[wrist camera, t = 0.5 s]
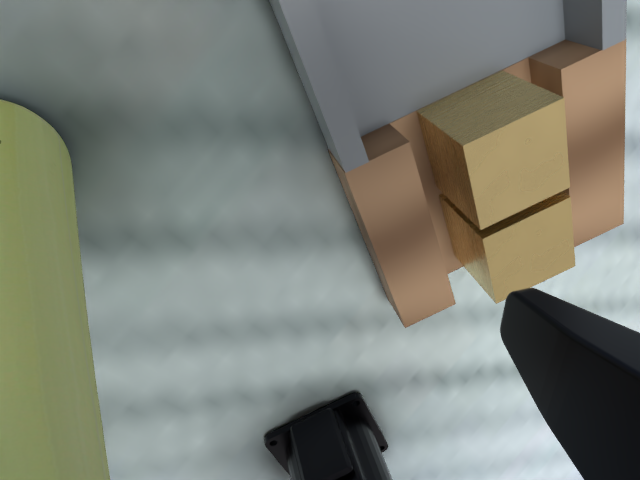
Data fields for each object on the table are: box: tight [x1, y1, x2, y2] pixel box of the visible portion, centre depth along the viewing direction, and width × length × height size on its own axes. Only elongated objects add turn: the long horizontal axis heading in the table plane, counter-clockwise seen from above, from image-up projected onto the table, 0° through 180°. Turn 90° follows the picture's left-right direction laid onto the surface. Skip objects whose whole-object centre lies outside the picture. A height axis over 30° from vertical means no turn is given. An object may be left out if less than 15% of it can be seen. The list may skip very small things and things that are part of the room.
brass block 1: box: [417, 70, 570, 230], centre depth 20 cm, size 4×4×4 cm
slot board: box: [328, 40, 626, 328], centre depth 23 cm, size 10×12×2 cm
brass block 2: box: [439, 191, 575, 304], centre depth 23 cm, size 4×4×4 cm
